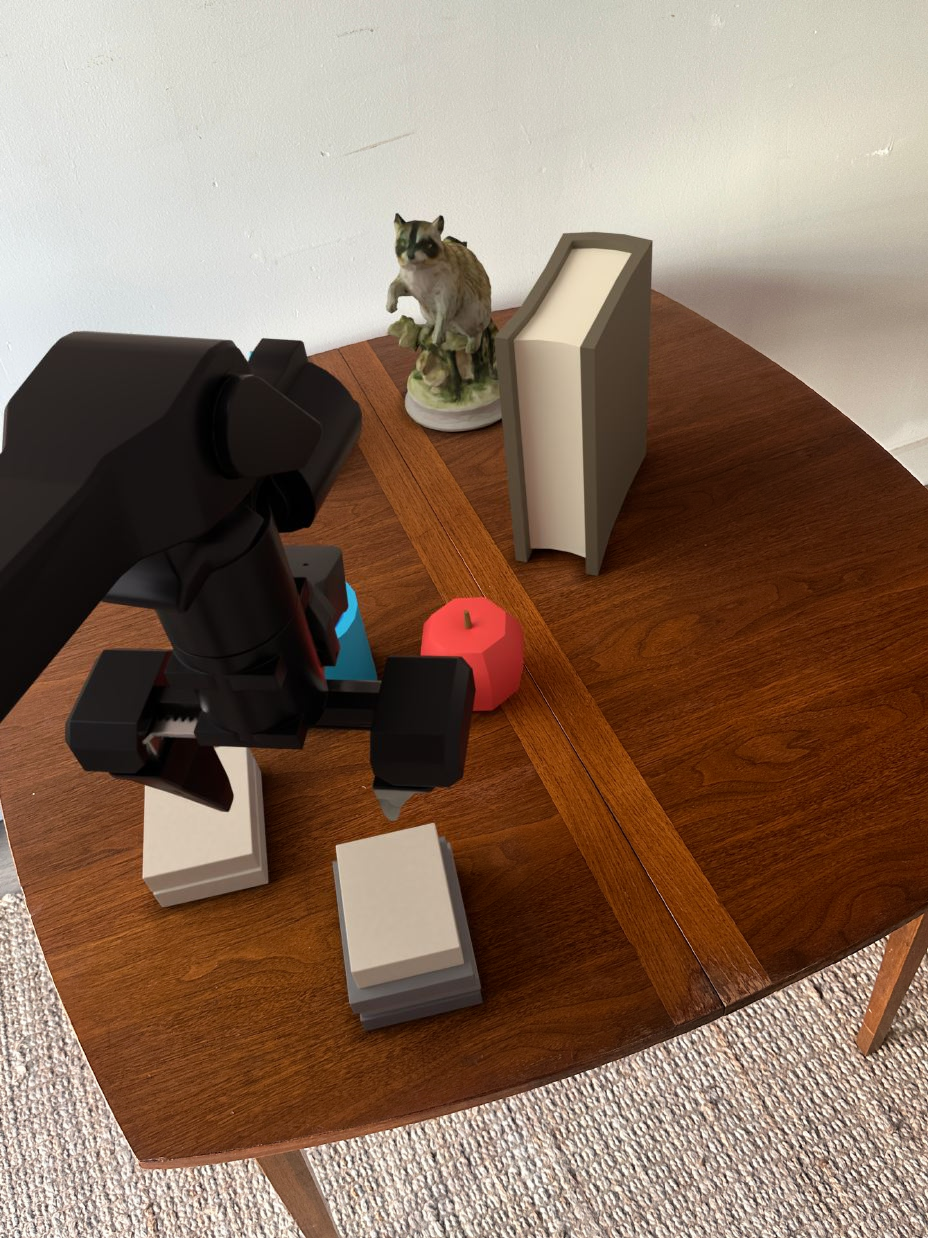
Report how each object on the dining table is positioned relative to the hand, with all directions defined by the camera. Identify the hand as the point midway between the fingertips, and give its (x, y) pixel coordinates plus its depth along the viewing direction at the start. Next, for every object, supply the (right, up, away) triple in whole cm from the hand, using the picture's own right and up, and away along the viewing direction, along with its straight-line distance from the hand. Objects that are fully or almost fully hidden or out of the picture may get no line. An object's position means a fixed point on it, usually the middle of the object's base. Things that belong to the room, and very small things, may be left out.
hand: (310, 808), depth 54 cm
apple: (+9, +5, +22) cm, 24 cm away
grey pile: (+5, -10, +8) cm, 14 cm away
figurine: (+8, +32, +46) cm, 57 cm away
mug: (-4, +5, +24) cm, 25 cm away
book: (+19, +20, +34) cm, 44 cm away
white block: (+4, -7, +5) cm, 9 cm away
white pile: (-9, -5, +15) cm, 18 cm away
